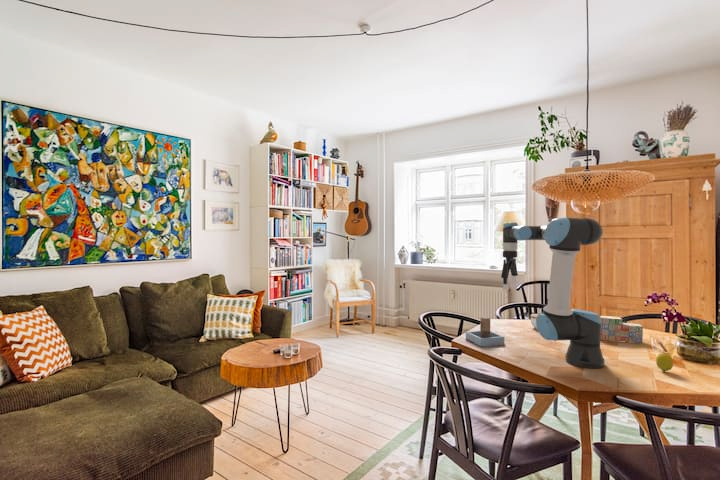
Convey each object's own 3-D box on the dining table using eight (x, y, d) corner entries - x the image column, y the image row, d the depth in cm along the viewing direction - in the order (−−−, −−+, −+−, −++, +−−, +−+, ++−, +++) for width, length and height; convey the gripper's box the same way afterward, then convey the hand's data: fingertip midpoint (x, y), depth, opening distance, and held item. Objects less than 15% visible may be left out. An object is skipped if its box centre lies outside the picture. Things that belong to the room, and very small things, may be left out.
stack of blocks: (639, 341, 205) (639, 318, 205) (642, 344, 200) (643, 320, 199) (593, 336, 213) (593, 314, 213) (595, 339, 208) (595, 317, 207)
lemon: (654, 371, 160) (655, 352, 160) (657, 368, 164) (657, 349, 164) (671, 375, 156) (672, 355, 156) (673, 371, 160) (674, 352, 160)
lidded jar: (526, 327, 233) (526, 312, 233) (538, 325, 238) (538, 310, 238) (542, 331, 223) (542, 315, 223) (553, 329, 228) (554, 313, 228)
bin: (504, 344, 198) (504, 336, 198) (480, 346, 194) (480, 338, 194) (487, 337, 211) (488, 329, 211) (465, 339, 207) (465, 331, 207)
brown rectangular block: (492, 341, 201) (492, 318, 200) (483, 342, 199) (484, 319, 199) (486, 339, 205) (486, 316, 205) (478, 339, 204) (478, 317, 204)
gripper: (510, 249, 223) (509, 285, 224) (495, 251, 204) (494, 290, 204) (523, 249, 219) (523, 286, 219) (509, 251, 199) (509, 292, 200)
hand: (509, 288), depth 212 cm, fingers open, 13 cm apart
